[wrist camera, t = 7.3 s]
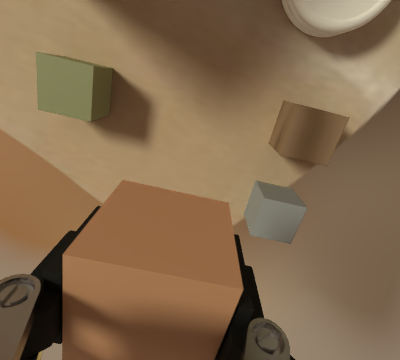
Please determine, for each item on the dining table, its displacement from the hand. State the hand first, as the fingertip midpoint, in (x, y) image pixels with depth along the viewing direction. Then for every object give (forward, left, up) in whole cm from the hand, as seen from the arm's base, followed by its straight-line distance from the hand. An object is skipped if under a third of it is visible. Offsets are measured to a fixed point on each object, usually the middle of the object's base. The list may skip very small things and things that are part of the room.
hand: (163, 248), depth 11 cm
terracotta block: (0, 0, -1) cm, 1 cm away
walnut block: (-12, -5, -19) cm, 23 cm away
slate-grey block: (-12, +5, -19) cm, 23 cm away
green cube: (+12, -4, -19) cm, 23 cm away
